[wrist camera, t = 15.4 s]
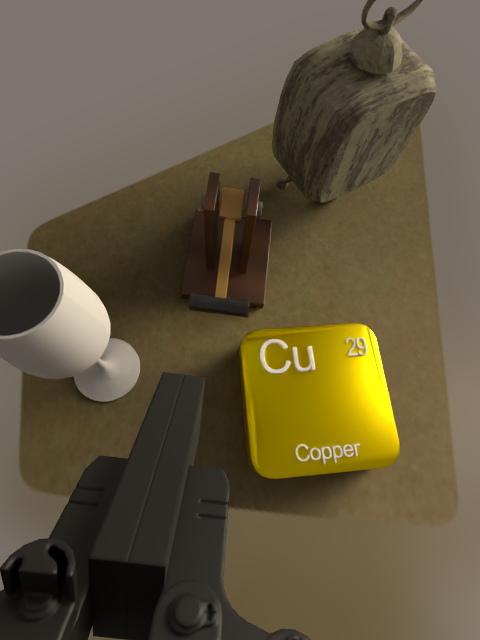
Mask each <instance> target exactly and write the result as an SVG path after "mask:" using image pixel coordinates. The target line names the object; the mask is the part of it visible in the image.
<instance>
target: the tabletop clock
mask: <svg viewBox="0 0 480 640" xmlns="http://www.w3.org/2000/svg"><path fill="white" fill-rule="evenodd" d="M375 1H376V0H368V1H367V3H366V5H365V7H364V9H363V12H362V24H363V26H364V29H360V30H357V31H353V32H349V33H346V34H344V35H342V36H339V37H337V38H335V39H333V40H330V41H328V42H326V43H324V44H322V45H320V46H317V47H315V48H313V49H312V50H310V51H308V52H307V53H305V54H304V55H303V56H302V57H300V58H299V59H298V60H296V61H295V62H294V64H293V66H292V68H291V70H290V72H289V74H288V76H287V78H286V81H285V84H284V87H283V90H282V93H281V96H280V100H279V105H278V109H277V113H276V117H275V122H274V131H273V140H272V147H273V153H274V156H275V158H276V159H277V160H278V162H279V163H280V164H281V166H282V167H283V168H284V170H285V171H286V172H287V174H288V175H289V177H288V178H284V177H283V178H279V179H278V180H277V187H278V188H279V189H280V190H284V189H286V188H287V187H288V182H290V181H292V180H293V181H294V183H295V184H296V185H297V187H298V188H299V189H300V191H301V192H302V193H303V195H304V196H305V197H306V198H307V199H311V200H314V201H317V202H320V203H322V202H327V201H330V200H336V199H337V198H338V197H340V196H342V195H344V194H346V193H348V192H351V191H353V190H355V189H357V188H359V187H361V186H363V185H365V184H366V183H368V182H370V181H372V180H374V179H376V178H378V177H379V176H381V175H382V174H384V173H385V172H387V171H388V170H389V169H390V168H391V167H392V165H393V164H394V163H395V162H396V160H397V159H398V158H399V156H400V155H401V153H402V152H403V150H404V149H405V147H406V146H407V144H408V143H409V141H410V140H411V138H412V137H413V135H414V134H415V132H416V130H417V129H418V127H419V125H420V124H421V122H422V120H423V118H424V117H425V115H426V113H427V112H428V110H429V108H430V106H431V104H432V102H433V99H434V97H435V94H436V89H435V79H434V71H433V70H432V69H431V68H430V67H429V66H428V65H427V64H426V63H425V62H423V60H422V59H421V58H420V57H419V56H418V55H417V54H416V53H415V52H414V51H413V50H412V49H411V48H410V47H408V45H407V44H406V43H405V42H403V40H402V39H401V38H400V35H399V33H398V32H397V31H396V30H395V29H394V28H393V27H392V26H393V25H395V24H397V23H399V22H401V21H402V20H404V19H405V18H406V17H408V16H409V15H410V14H411V13H412V12H413V11H414V10H415V9H416V8H417V7H418V6H419V5H420V3H421V2H422V0H416V1H415V2H414V3H412V4H411V5H410V6H409V7H408V8H406V9H405V10H403V11H402V12H400V13H398V14H397V9H395V8H394V7H389V8H388V9H387V10H386V11H385V14H384V16H383V19H382V20H380V21H377V22H374V21H369V20H368V19H367V14H368V12H369V10H370V8H371V6H372V5H373V3H374V2H375Z"/></svg>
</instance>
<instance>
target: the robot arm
mask: <svg viewBox="0 0 480 640" xmlns="http://www.w3.org/2000/svg"><path fill="white" fill-rule="evenodd" d="M204 386H205V377H198V376H190V375H182V374H174V373H166V372H163V374H162V376H161V379H160V381H159V384H158V386H157V388H156V391H155V393H154V396H153V398H152V401H151V403H150V406H149V408H148V411H147V413H146V416H145V418H144V421H143V423H142V425H141V428H140V430H139V433H138V435H137V438H136V440H135V443H134V445H133V448H132V450H131V453H130V455H129V458H128V459H124V458H116V457H108V456H99V457H98V458H97V459H96V460H95V461H94V462H92V463H91V464H90V465H89V466H88V467H87V468H86V469H85V470H84V472H83V474H82V476H81V478H80V480H79V482H78V484H77V486H76V489H74V491H73V493H72V495H71V497H70V499H69V502H68V504H67V505H66V506H65V508H64V510H63V512H62V514H61V516H60V518H59V520H58V522H57V524H56V525H55V528H54V529H53V531H52V533H51V535H50V537H49V538H48V539H38V540H36V541H33V542H31V543H28V544H26V545H24V546H22V547H21V548H20V549H18V550H17V551H16V552H14V553H13V554H12V555H10V556H9V558H8V559H7V560H6V562H5V563H4V564H3V565H2V566H1V567H0V572H1V576H2V580H3V584H4V590H2V591H0V640H88V637H89V634H90V631H91V628H92V625H93V636H98V637H107V638H116V639H126V640H310V639H309V638H308V636H306V635H304V634H302V633H300V632H298V631H296V630H292V629H280V630H278V631H276V632H274V633H271V634H269V633H268V632H266V631H264V630H262V629H260V628H258V627H257V626H255V625H253V624H251V623H249V622H247V621H246V620H244V619H243V618H242V617H240V616H239V615H238V614H237V613H236V612H235V610H234V609H233V608H232V607H231V605H230V603H229V601H228V599H227V597H226V593H225V590H224V580H223V574H224V560H225V546H226V533H227V517H228V503H229V490H230V484H229V482H228V479H227V476H226V474H225V471H224V469H218V468H210V467H201V466H194V462H195V457H196V451H197V446H198V441H199V434H200V425H201V415H202V405H203V395H204Z"/></svg>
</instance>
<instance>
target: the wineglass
mask: <svg viewBox="0 0 480 640" xmlns="http://www.w3.org/2000/svg"><path fill="white" fill-rule="evenodd" d="M109 337H110V321H109V317H108V313H107V311H106V308H105V307H104V305H103V303H102V302H101V300H100V299H99V297H98V296H97V294H96V293H95V292H93V291H92V290H91V289H90V288H89V287H88V286H87V285H86V284H85V283H84V282H83V281H82V280H81V279H79V278H78V277H77V276H76V275H75V274H73V273H72V272H71V271H70V270H68V269H67V268H65V267H64V266H63V265H61V264H60V263H58V262H57V261H55V260H53V259H51V258H50V257H48V256H46V255H44V254H42V253H40V252H38V251H34V250H30V249H12V250H6V251H2V252H0V357H2V358H3V359H4V360H6V361H7V362H8V363H10V364H11V365H13V366H15V367H16V368H18V369H20V370H21V371H23V372H25V373H28V374H30V375H34V376H38V377H41V378H47V379H63V378H68V377H73V376H74V380H75V384H76V386H77V387H78V389H79V391H80V392H81V393H82V394H83V395H85V396H86V397H88V398H90V399H92V400H95V401H99V402H108V401H112V400H116V399H118V398H120V397H122V396H124V395H125V394H126V393H128V392H129V391H130V390H131V389H132V387H133V386H134V385H135V383H136V381H137V379H138V377H139V372H140V361H139V358H138V355H137V353H136V352H135V350H134V349H133V348H132V347H131V346H130V345H129V344H128V343H126V342H124V341H123V340H120V339H116V338H109Z"/></svg>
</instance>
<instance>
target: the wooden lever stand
mask: <svg viewBox="0 0 480 640" xmlns="http://www.w3.org/2000/svg"><path fill="white" fill-rule="evenodd" d="M260 182H261V179H256V178H251V180H250V187H249V195H248V202H247V210H246V217H243V216H242V219H241V223H235V231H234V238H233V246H232V254H231V262H230V270H229V278H228V286H227V294H226V297H231V298H239V299H247V300H250V305H249V306H251V307H258V308H263V305H264V298H265V288H266V277H267V267H268V256H269V246H270V236H271V225H272V220H265V219H258V218H256V217H257V216H259V217H261V213H262V206H263V202H258V200H259V191H260ZM219 204H220V173H213V172H210V175H209V181H208V187H207V192H206V195H205V194H203V195H202V201H201V209H204V211H198V210H196V212H195V218H194V223H193V229H192V234H191V240H190V245H189V250H188V256H187V261H186V267H185V272H184V278H183V283H182V289H181V298H189V299H190V295H191V293H192V292H193V293H200V294H208V295H215V292H216V284H217V276H218V268H219V260H220V252H221V244H222V236H223V227H224V221H220V218H219Z"/></svg>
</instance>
